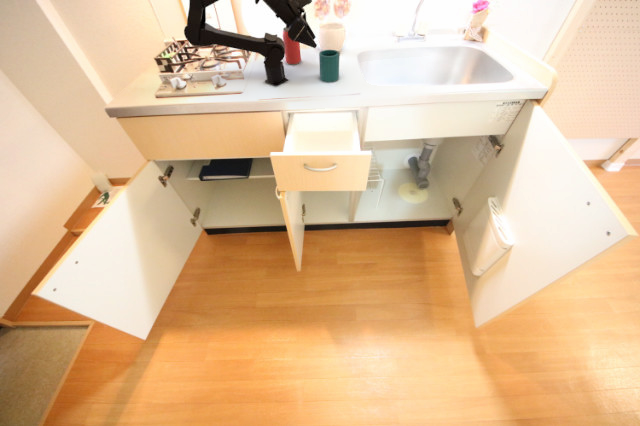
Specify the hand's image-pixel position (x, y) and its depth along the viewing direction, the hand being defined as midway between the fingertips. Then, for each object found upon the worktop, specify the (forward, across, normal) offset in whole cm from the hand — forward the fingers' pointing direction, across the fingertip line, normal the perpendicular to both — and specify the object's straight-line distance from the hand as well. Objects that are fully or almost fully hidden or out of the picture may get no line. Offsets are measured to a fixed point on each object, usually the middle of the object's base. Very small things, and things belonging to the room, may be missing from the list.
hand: (315, 42), depth 83 cm
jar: (+12, 0, +5) cm, 13 cm away
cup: (+14, +28, +3) cm, 32 cm away
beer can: (+2, +19, +15) cm, 24 cm away
